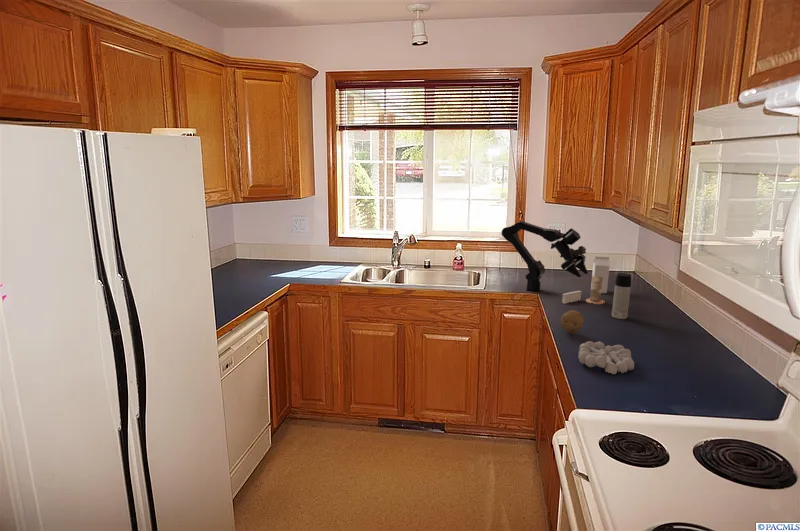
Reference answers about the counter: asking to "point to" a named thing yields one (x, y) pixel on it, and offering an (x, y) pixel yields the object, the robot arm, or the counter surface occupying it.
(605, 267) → the milk carton
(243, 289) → the counter surface
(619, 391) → the counter surface
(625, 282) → the spray can
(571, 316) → the natural sponge
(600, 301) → the terracotta coaster
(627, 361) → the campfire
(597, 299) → the ash post
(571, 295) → the off-white long flat block
